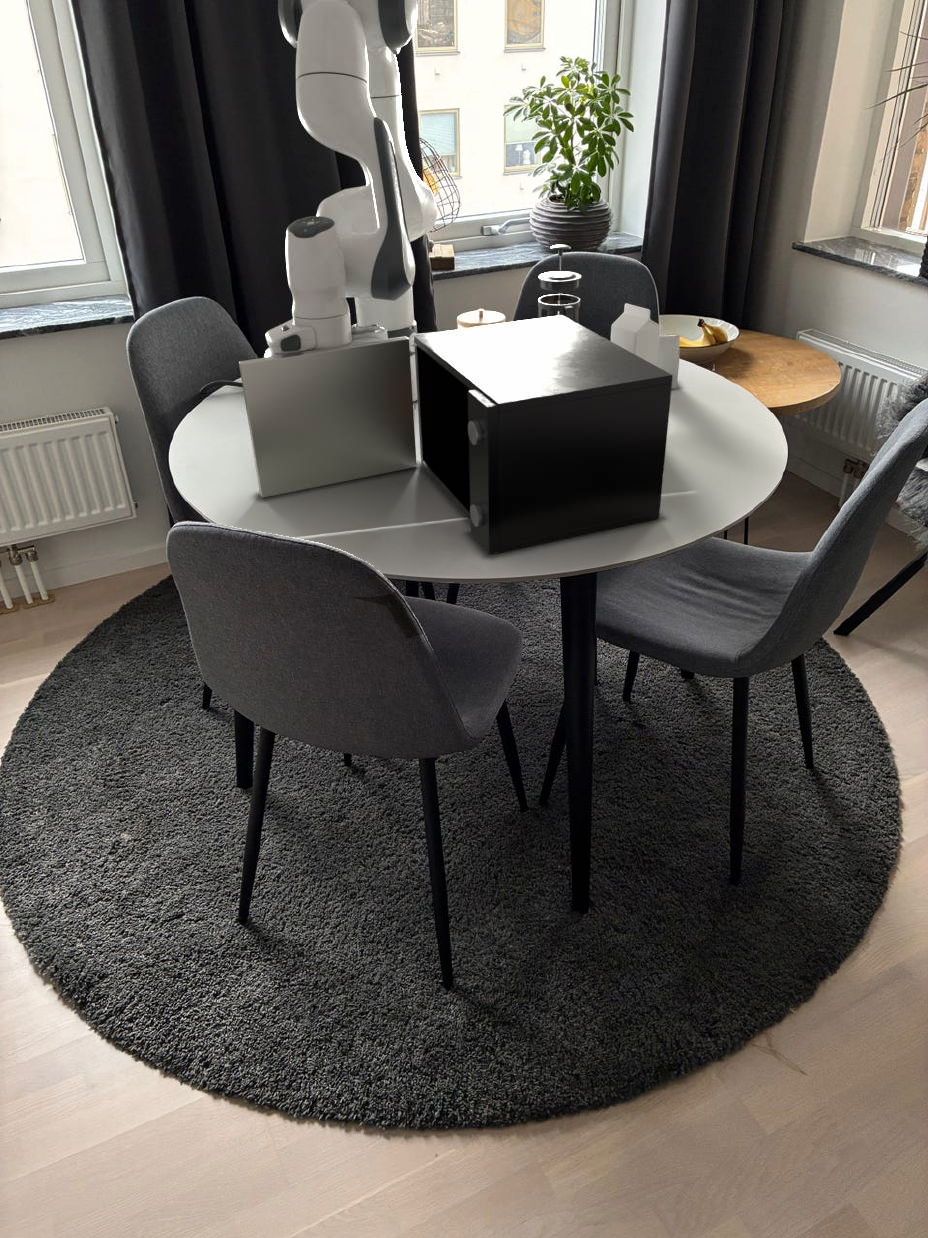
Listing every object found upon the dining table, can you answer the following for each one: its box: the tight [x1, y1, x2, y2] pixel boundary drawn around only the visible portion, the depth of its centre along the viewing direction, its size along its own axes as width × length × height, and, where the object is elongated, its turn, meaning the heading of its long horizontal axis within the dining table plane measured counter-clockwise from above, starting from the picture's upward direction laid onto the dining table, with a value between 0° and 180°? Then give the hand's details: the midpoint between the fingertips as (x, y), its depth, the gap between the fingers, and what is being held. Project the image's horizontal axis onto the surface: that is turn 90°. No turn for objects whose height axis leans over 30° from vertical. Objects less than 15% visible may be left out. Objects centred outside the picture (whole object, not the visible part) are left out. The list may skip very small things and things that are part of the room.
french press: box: [537, 244, 582, 324], centre depth 201 cm, size 12×9×23 cm
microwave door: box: [238, 336, 417, 499], centre depth 151 cm, size 7×27×22 cm, turn 114°
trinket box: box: [456, 308, 506, 330], centre depth 209 cm, size 11×11×9 cm
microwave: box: [414, 314, 673, 555], centre depth 143 cm, size 28×34×22 cm
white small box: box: [657, 334, 681, 389], centre depth 187 cm, size 4×7×10 cm, turn 91°
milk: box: [610, 302, 662, 366], centre depth 164 cm, size 6×6×22 cm
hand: (332, 415), depth 154 cm, fingers closed
